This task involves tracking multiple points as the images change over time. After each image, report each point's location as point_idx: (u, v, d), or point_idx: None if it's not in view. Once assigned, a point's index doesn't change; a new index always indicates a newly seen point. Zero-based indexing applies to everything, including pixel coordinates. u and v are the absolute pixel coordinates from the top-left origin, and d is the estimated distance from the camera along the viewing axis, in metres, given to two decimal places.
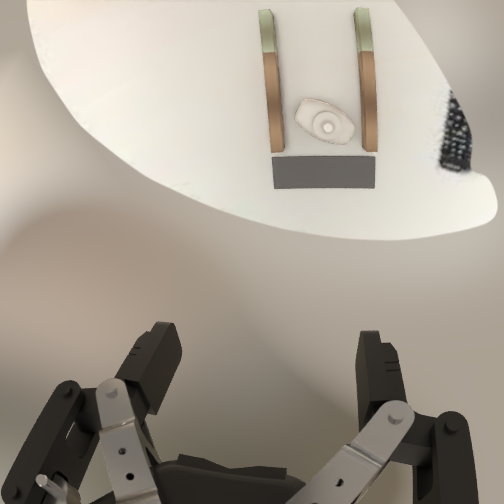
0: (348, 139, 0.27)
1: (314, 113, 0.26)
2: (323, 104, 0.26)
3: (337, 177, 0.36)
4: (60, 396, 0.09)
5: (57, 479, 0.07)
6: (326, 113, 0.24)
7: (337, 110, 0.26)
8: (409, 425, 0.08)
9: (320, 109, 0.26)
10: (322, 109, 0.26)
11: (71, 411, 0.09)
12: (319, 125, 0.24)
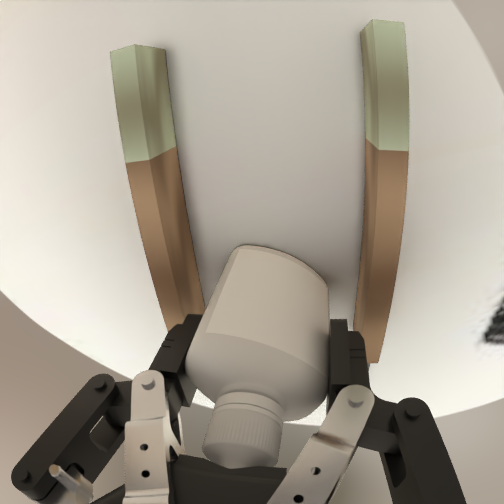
0: (308, 414, 0.12)
1: (221, 385, 0.10)
2: (246, 361, 0.10)
3: None
4: (92, 389, 0.10)
5: (72, 471, 0.07)
6: (233, 445, 0.08)
7: (283, 373, 0.10)
8: (368, 409, 0.09)
9: (235, 379, 0.10)
10: (240, 381, 0.10)
11: (100, 406, 0.09)
12: (215, 462, 0.09)
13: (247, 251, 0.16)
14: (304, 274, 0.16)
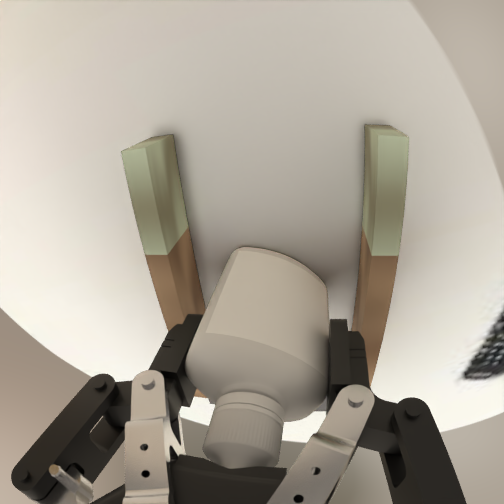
0: (308, 414, 0.12)
1: (221, 385, 0.10)
2: (246, 361, 0.10)
3: None
4: (92, 389, 0.10)
5: (72, 471, 0.07)
6: (234, 444, 0.08)
7: (284, 373, 0.10)
8: (368, 409, 0.09)
9: (236, 379, 0.10)
10: (241, 381, 0.10)
11: (100, 406, 0.09)
12: (216, 462, 0.09)
13: (246, 253, 0.16)
14: (303, 275, 0.16)
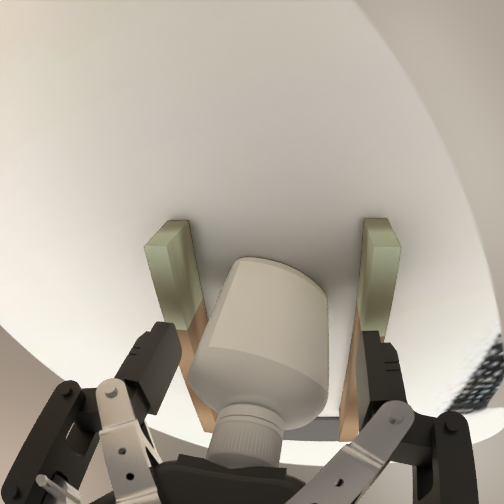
0: (307, 423, 0.12)
1: (224, 397, 0.11)
2: (248, 375, 0.11)
3: (300, 434, 0.25)
4: (60, 396, 0.09)
5: (57, 479, 0.07)
6: (236, 455, 0.08)
7: (284, 386, 0.11)
8: (409, 425, 0.08)
9: (238, 392, 0.10)
10: (242, 393, 0.10)
11: (71, 411, 0.09)
12: None
13: (248, 263, 0.17)
14: (304, 286, 0.16)
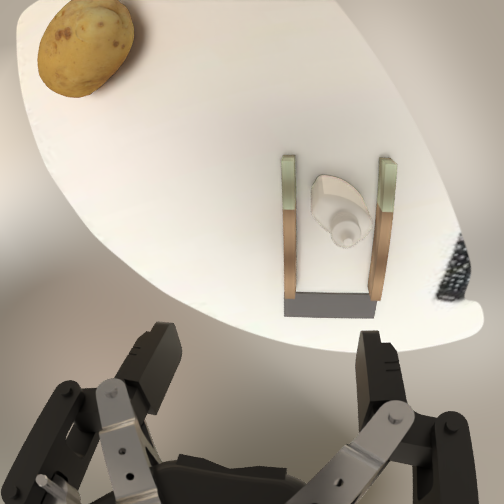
0: (364, 237, 0.28)
1: (333, 212, 0.27)
2: (343, 202, 0.26)
3: (342, 310, 0.41)
4: (60, 396, 0.09)
5: (57, 479, 0.07)
6: (346, 222, 0.24)
7: (356, 208, 0.27)
8: (409, 425, 0.08)
9: (339, 208, 0.26)
10: (341, 209, 0.26)
11: (71, 411, 0.09)
12: (338, 235, 0.25)
13: (325, 176, 0.32)
14: (352, 188, 0.32)
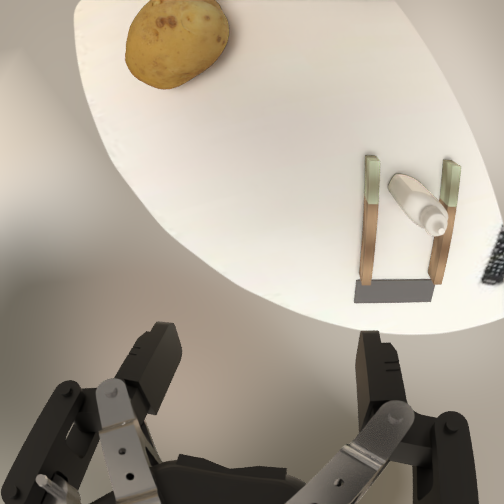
0: None
1: (422, 207, 0.29)
2: (428, 198, 0.29)
3: (405, 295, 0.43)
4: (60, 396, 0.09)
5: (57, 479, 0.07)
6: (438, 215, 0.26)
7: (438, 203, 0.29)
8: (409, 425, 0.08)
9: (427, 203, 0.28)
10: (428, 203, 0.28)
11: (71, 411, 0.09)
12: (431, 225, 0.27)
13: (401, 175, 0.35)
14: None
